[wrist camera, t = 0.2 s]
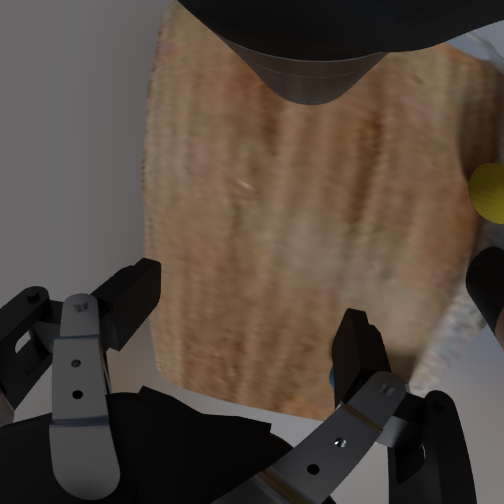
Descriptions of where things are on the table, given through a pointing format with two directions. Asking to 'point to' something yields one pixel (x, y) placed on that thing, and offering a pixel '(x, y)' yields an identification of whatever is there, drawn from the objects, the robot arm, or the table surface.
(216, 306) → the table surface
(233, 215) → the table surface
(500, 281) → the travel mug
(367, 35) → the robot arm
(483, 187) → the lemon
